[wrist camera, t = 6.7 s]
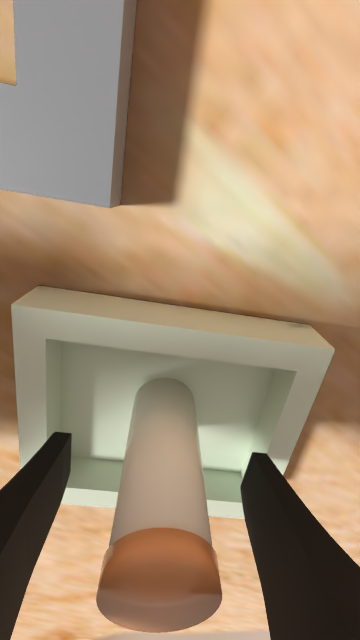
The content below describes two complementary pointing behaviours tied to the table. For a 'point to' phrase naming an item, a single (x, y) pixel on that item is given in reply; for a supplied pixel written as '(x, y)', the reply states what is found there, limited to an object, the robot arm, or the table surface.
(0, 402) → the table surface
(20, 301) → the parts tray
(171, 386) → the cylinder
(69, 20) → the grey square frame
